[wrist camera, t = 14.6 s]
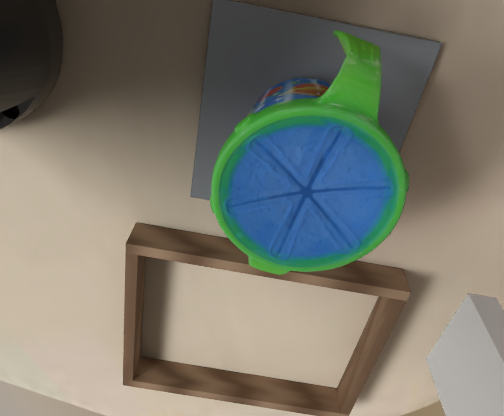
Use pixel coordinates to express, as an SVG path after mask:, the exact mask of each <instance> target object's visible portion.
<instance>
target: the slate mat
mask: <svg viewBox="0 0 504 416" xmlns="http://www.w3.org/2000/svg"><path fill="white" fill-rule="evenodd" d="M335 30H339V31H342V32H346V33H348V34H351V35H353V36H355V37H357V38H360V39H362V40H365V41H367V42H370V43H372V44H374V45H377V46H379V47H380V51H381V53H380V54H381V65H382V78H381V94H380V104H379V111H378V122H379V125H380V126H381V127H382V128H383V129H384V130H385V131H386V133H387V134H388V135H389V137H390V138H391V139H392V141H393V143H394V145H395V146H396V148H397V150H398V152H400V149H401V147H402V144H403V141H404V139H405V136H406V134H407V131H408V129H409V126H410V124H411V121H412V119H413V116H414V113H415V111H416V108H417V106H418V103H419V101H420V98H421V96H422V93H423V91H424V88H425V85H426V83H427V80H428V78H429V75H430V73H431V70H432V68H433V65H434V63H435V60H436V57H437V55H438V52H439V50H440V47H441V45H442V43H440V42H439V41H434V40H429V39H424V38H419V37H414V36H409V35H403V34H398V33H393V32H388V31H383V30H378V29H373V28H368V27H363V26H358V25H353V24H348V23H343V22H338V21H333V20H328V19H323V18H318V17H313V16H308V15H303V14H298V13H292V12H287V11H282V10H277V9H272V8H267V7H262V6H257V5H252V4H247V3H242V2H237V1H232V0H213V3H212V12H211V21H210V30H209V39H208V47H207V56H206V65H205V74H204V82H203V91H202V100H201V109H200V117H199V126H198V135H197V144H196V153H195V161H194V170H193V179H192V188H191V196H190V197H194V198H200V199H206V200H210V196H211V185H212V176H213V170H214V166H215V163H216V160H217V157H218V155H219V153H220V151H221V148H222V147H223V145H224V144H225V142H226V140H227V139H228V138H229V136H230V135H231V134H232V133H233V131H234V130H235V129H234V128H235V127H236V125H237V124H238V123H239V122H241V121H242V120H243V119H244V118H246V117H247V116H248V114H249V112H250V111H251V109H252V108H253V106H254V105H255V103H256V102H257V100H258V99H259V98H260V97H261V96H262V95H263V94H264V93H265V92H266V91H267V90H268V89H269V88H271V87H272V86H275V85H277V84H279V83H281V82H284V81H286V80H290V79H296V78H308V79H318V80H321V81H325V82H327V83H328V84H330V85H331V84H332V83H333V81H334V80H335V78H336V77H337V75H338V73H339V71H340V69H341V67H342V64H343V62H344V60H345V58H346V54H345V52H344V50H343V47H342V45H341V43H340V41H339V39H338V38H337V37H335V36H334V35H333V32H334V31H335Z"/></svg>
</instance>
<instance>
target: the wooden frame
mask: <svg viewBox="0 0 504 416" xmlns="http://www.w3.org/2000/svg"><path fill="white" fill-rule="evenodd" d="M146 256H147V257H153V258H158V259H164V260H170V261H176V262H182V263H188V264H193V265H199V266H205V267H211V268H217V269H223V270H229V271H234V272H240V273H246V274H252V275H258V276H264V277H269V278H275V279H281V280H287V281H293V282H299V283H304V284H310V285H316V286H322V287H328V288H334V289H340V290H345V291H351V292H357V293H363V294H369V295H375V296H379V297H378V299H377V302H376V304H375V306H374V308H373V310H372V313H371V315H370V317H369V319H368V321H367V324H366V326H365V328H364V330H363V332H362V335H361V337H360V339H359V341H358V343H357V346H356V348H355V350H354V352H353V354H352V357H351V359H350V361H349V363H348V365H347V368H346V370H345V372H344V374H343V376H342V379H341V381H340V383H339V385H338V387H337V388H330V387H324V386H318V385H312V384H306V383H299V382H293V381H287V380H281V379H274V378H268V377H262V376H256V375H250V374H243V373H237V372H231V371H225V370H219V369H212V368H206V367H200V366H194V365H188V364H181V363H175V362H169V361H163V360H157V359H150V358H144V357H141V338H142V319H143V301H144V282H145V263H146ZM410 294H411V291H410V288H409V285H408V282H407V279H406V276H405V273H404V270H403V269H400V268H394V267H388V266H382V265H377V264H371V263H365V262H360V261H353V262H351V263H349V264H346V265H344V266H341V267H337V268H334V269H329V270H323V271H311V272H300V271H289V272H287V273H286V274H281V275H278V274H273V273H269V272H265V271H262V270H259V269H256V268H254V267H252V266H250V265H249V260H248V255H247V254H245V253H244V252H243V251H241V250H240V249H239V248H238V247H237V246H236V245H235V244H234V243H233V242H232V241H231V240H230V239H228V238H222V237H216V236H210V235H205V234H199V233H193V232H187V231H182V230H176V229H170V228H164V227H159V226H153V225H147V224H142V223H136V224H135V226H134V228H133V230H132V232H131V234H130V236H129V238H128V240H127V242H126V264H125V311H124V358H123V385H126V386H132V387H138V388H145V389H151V390H157V391H164V392H170V393H176V394H183V395H189V396H195V397H202V398H208V399H214V400H221V401H227V402H233V403H239V404H246V405H252V406H258V407H265V408H271V409H277V410H284V411H290V412H296V413H303V414H309V415H315V416H349V414H350V412H351V410H352V408H353V406H354V404H355V402H356V400H357V398H358V396H359V394H360V393H361V391H362V389H363V387H364V385H365V383H366V381H367V379H368V377H369V375H370V373H371V371H372V369H373V367H374V365H375V363H376V361H377V359H378V357H379V355H380V353H381V351H382V349H383V347H384V345H385V343H386V341H387V339H388V337H389V335H390V333H391V331H392V329H393V327H394V325H395V323H396V321H397V319H398V317H399V316H400V314H401V312H402V310H403V308H404V306H405V304H406V302H407V300H408V298H409V296H410Z"/></svg>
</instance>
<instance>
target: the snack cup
mask: <svg viewBox="0 0 504 416" xmlns="http://www.w3.org/2000/svg"><path fill="white" fill-rule="evenodd" d="M333 35H334V36H335V37H337V38H338V39H339V41H340V43H341V45H342V47H343V50H344V52H345V54H346V58H345V60H344V62H343V64H342V67H341V69H340V71H339V73H338V75H337V77H336V78H335V80H334V81H333V83H332V84H331V85H330V84H328V83H327V82H325V81H321V80H318V79H308V78H296V79H290V80H286V81H284V82H281V83H279V84H277V85H275V86H272V87H271V88H269V89H268V90H267V91H266V92H265V93H264V94H263V95H262V96H261V97H260V98H259V99H258V100H257V102H256V103H255V105H254V106H253V108H252V109H251V111H250V112H249V114H248V116H247V117H246V118H244V119H243V120H242V121H241V122H239V123H238V124H237V125H236V127H235V128H234V129H235V130H234V131H233V133H232V134H231V135H230V136H229V138H228V139H227V140H226V142H225V144H224V145H223V147H222V148H221V151H220V153H219V155H218V157H217V160H216V163H215V166H214V170H213V176H212V185H211V196H210V203H211V208H212V211H213V213H214V214H215V215H216V218H217V220H218V223H219V225H220V227H221V228H222V230H223V231H224V232H225V234H226V235H227V237H228V238H229V239H230V240H231V241H232V242H233V243H234V244H235V245H236V246H237V247H238V248H239V249H240V250H241V251H243V252H244V253H245V254H247V255H248V260H249V265H250V266H252V267H254V268H256V269H259V270H262V271H265V272H269V273H273V274H278V275H281V274H286V273H287V272H289V271H300V272H311V271H323V270H329V269H334V268H337V267H341V266H344V265H346V264H349V263H351V262H353V261H355V260H357V259H359V258H361V257H363V256H364V255H366V254H368V253H369V252H371V251H372V250H373V249H375V248H376V247H377V246H378V245H379V244H380V243H381V242H382V241H383V240H384V239H385V238H386V237H387V236H388V235H389V234H390V233H391V231H392V230H393V229H394V227H395V225H396V223H397V222H398V220H399V218H400V215H401V213H402V210H403V207H404V204H405V198H406V192H407V191H408V187H409V175H408V173H407V171H406V170H405V168H404V165H403V162H402V159H401V157H400V154H399V152H398V150H397V148H396V146H395V145H394V143H393V141H392V139H391V138H390V137H389V135H388V134H387V133H386V131H385V130H384V129H383V128H382V127H381V126H380V125H379V122H378V111H379V104H380V94H381V78H382V65H381V54H380V53H381V51H380V47H379V46H377V45H374V44H372V43H370V42H367V41H365V40H362V39H360V38H357V37H355V36H353V35H351V34H348V33H346V32H342V31H339V30H335V31H334V32H333Z"/></svg>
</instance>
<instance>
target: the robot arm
mask: <svg viewBox="0 0 504 416" xmlns="http://www.w3.org/2000/svg"><path fill="white" fill-rule="evenodd" d="M62 49H63V46H62V31H61V25H60V20H59V16H58V12H57V9H56V5H55V2H54V0H0V130H1V129H4V128H6V127H9V126H11V125H13V124H15V123H17V122H18V121H20V120H21V119H23V118H24V117H25V116H27V115H28V114H29V113H31V112H32V111H33V110H35V109H36V108H37V107H38V106H40V105H41V104H42V103H43V102H44V100H45V99H46V98H47V97H48V95H49V94H50V92H51V91H52V89H53V87H54V85H55V83H56V80H57V78H58V75H59V71H60V67H61V61H62ZM426 360H427V363H428V366H429V369H430V372H431V375H432V378H433V380H434V383H435V386H436V389H437V392H438V395H439V398H440V401H441V404H442V407H443V410H444V412H445V415H446V416H504V311H503V309H502V307H501V306H500V304H499V302H498V301H497V299H496V298H494V297H488V296H482V295H476V294H470V293H468V294H467V296H466V298H465V299H464V301H463V302H462V304H461V305H460V307H459V308H458V310H457V312H456V313H455V315H454V316H453V318H452V319H451V321H450V322H449V324H448V325H447V327H446V329H445V330H444V332H443V333H442V335H441V336H440V338H439V339H438V341H437V343H436V344H435V346H434V347H433V349H432V350H431V352H430V353H429V355H428V357H427V358H426Z"/></svg>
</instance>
